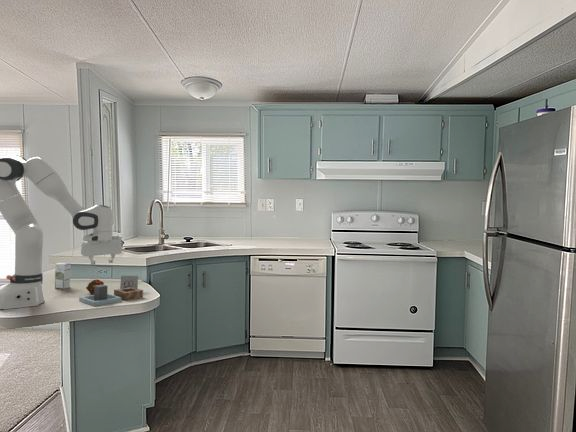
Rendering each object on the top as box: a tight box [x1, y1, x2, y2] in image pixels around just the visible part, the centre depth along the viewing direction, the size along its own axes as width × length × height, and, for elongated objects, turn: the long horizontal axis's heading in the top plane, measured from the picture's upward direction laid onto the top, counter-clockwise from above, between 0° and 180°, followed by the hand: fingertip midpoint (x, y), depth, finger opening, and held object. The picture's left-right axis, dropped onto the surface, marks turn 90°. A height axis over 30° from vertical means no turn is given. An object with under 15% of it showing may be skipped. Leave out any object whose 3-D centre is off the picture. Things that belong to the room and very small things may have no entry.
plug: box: [93, 284, 108, 301], centre depth 207 cm, size 4×4×8 cm
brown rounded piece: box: [85, 278, 105, 295], centre depth 223 cm, size 8×8×12 cm
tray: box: [78, 292, 122, 307], centre depth 207 cm, size 14×14×2 cm
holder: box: [113, 287, 144, 301], centre depth 218 cm, size 10×10×4 cm
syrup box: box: [54, 261, 71, 290], centre depth 233 cm, size 6×6×14 cm
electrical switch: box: [119, 275, 139, 289], centre depth 232 cm, size 9×5×9 cm, turn 102°
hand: (102, 263), depth 207 cm, fingers open, 8 cm apart
